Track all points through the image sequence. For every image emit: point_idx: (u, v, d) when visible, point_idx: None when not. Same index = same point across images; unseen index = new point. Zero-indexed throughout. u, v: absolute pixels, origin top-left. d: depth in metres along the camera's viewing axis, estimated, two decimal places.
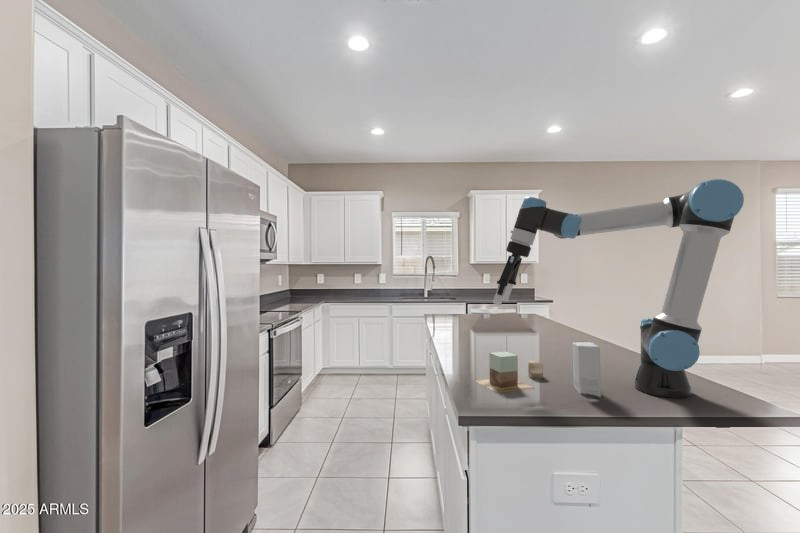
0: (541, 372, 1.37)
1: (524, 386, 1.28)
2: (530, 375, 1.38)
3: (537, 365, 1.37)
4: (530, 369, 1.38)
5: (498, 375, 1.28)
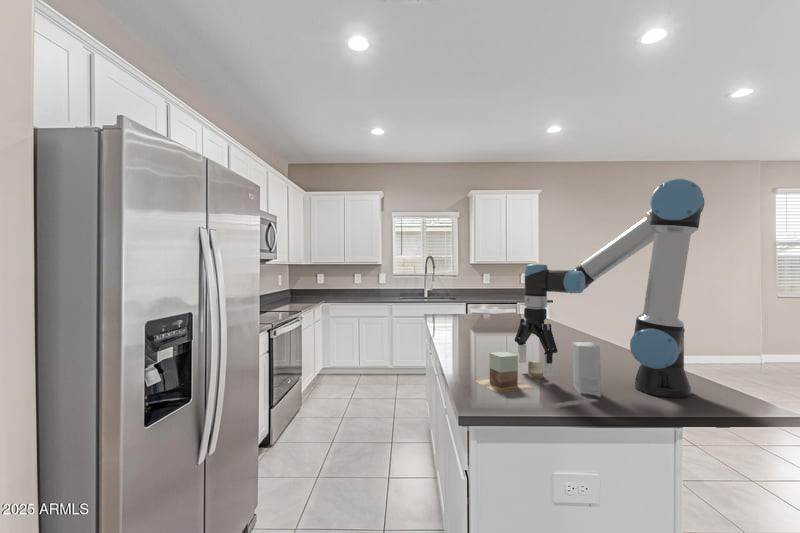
0: (541, 372, 1.37)
1: (524, 386, 1.28)
2: (530, 375, 1.38)
3: (537, 365, 1.37)
4: (530, 369, 1.38)
5: (498, 375, 1.28)
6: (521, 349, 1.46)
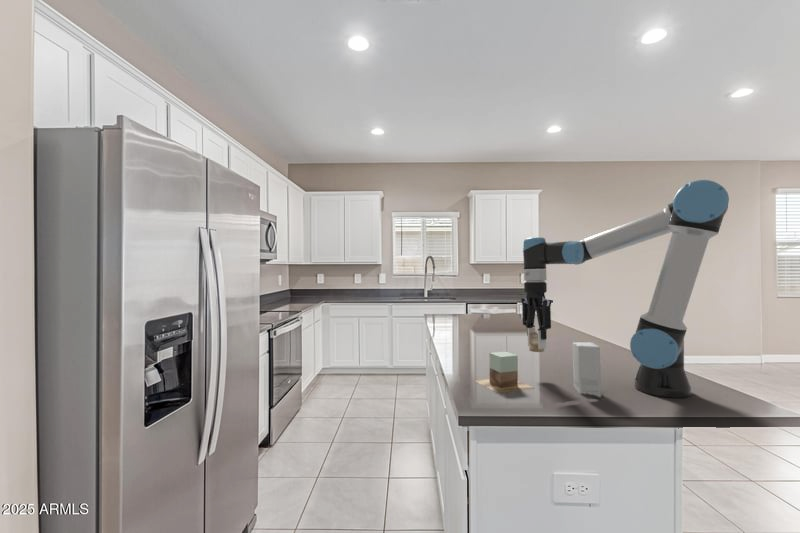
0: None
1: (524, 386, 1.28)
2: (531, 346, 1.38)
3: None
4: (531, 340, 1.38)
5: (498, 375, 1.28)
6: (530, 332, 1.41)
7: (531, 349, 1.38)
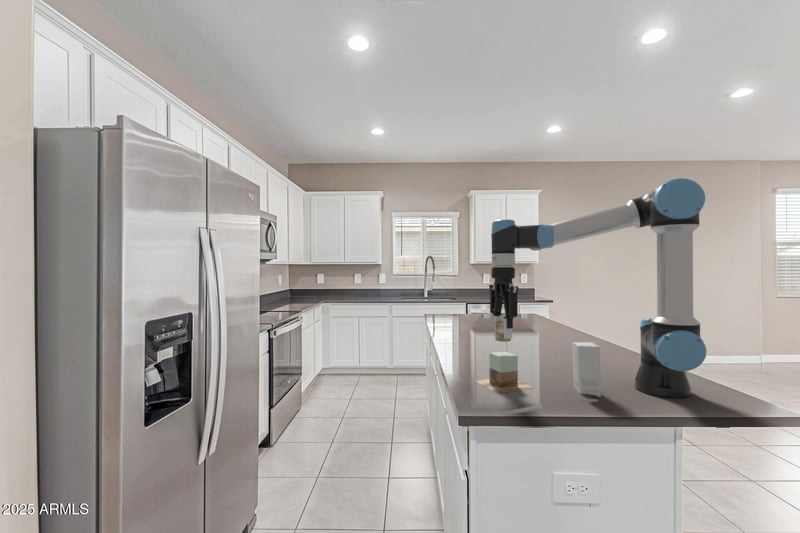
0: None
1: (524, 386, 1.28)
2: (497, 335, 1.30)
3: None
4: (497, 329, 1.30)
5: (498, 375, 1.28)
6: (497, 320, 1.33)
7: (497, 338, 1.30)
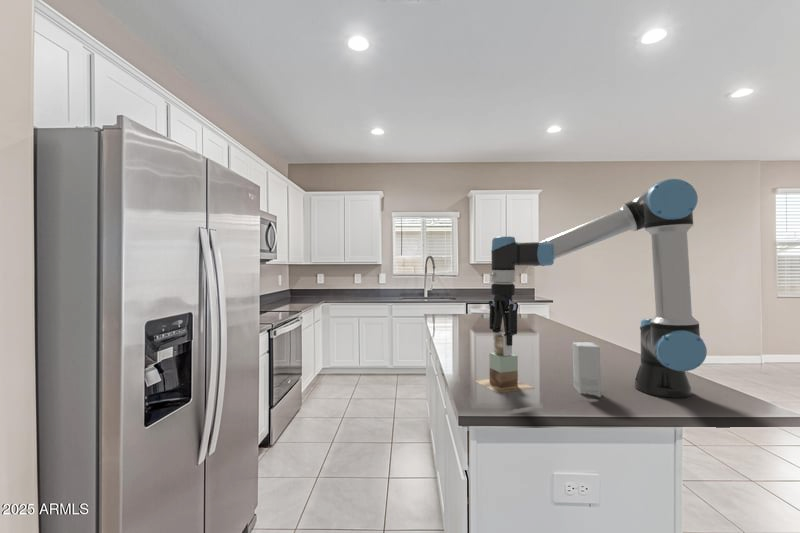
0: None
1: (524, 386, 1.28)
2: (496, 349, 1.29)
3: None
4: (496, 343, 1.29)
5: (498, 375, 1.28)
6: None
7: (496, 352, 1.29)
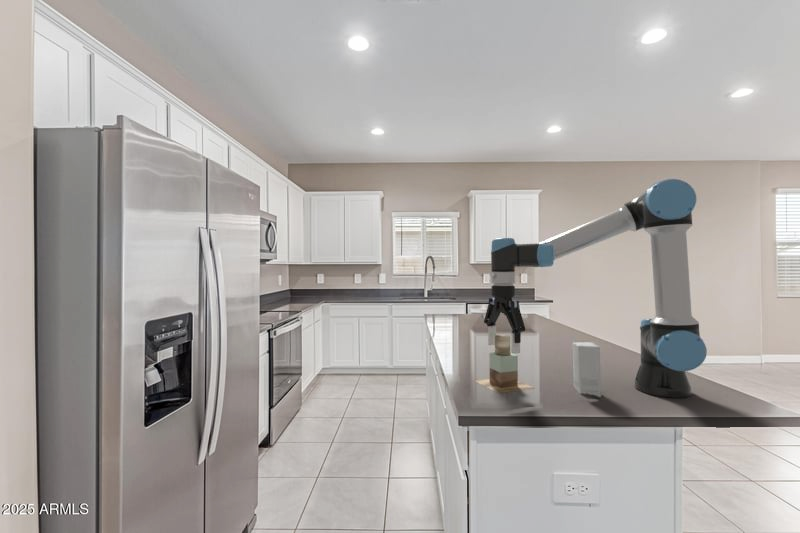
0: (508, 346, 1.28)
1: (524, 386, 1.28)
2: (496, 349, 1.29)
3: (503, 338, 1.28)
4: (496, 343, 1.29)
5: (498, 375, 1.28)
6: (490, 330, 1.36)
7: (496, 352, 1.29)
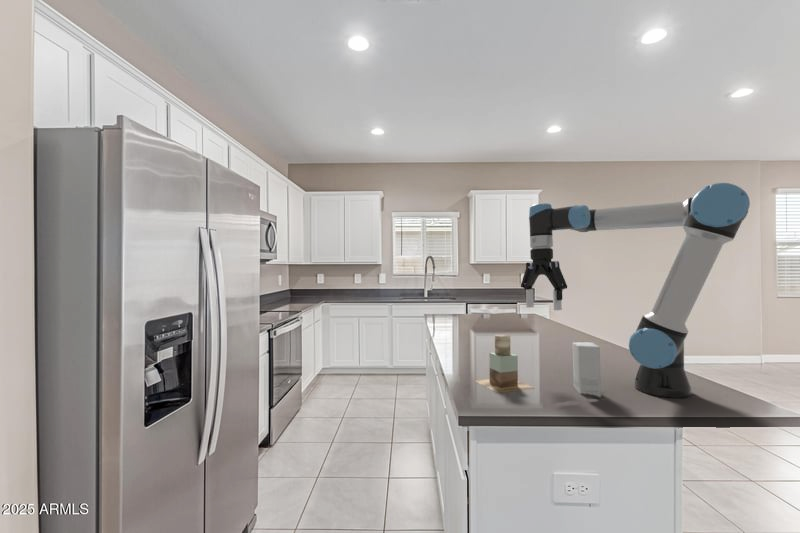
0: (508, 346, 1.28)
1: (524, 386, 1.28)
2: (496, 349, 1.29)
3: (503, 338, 1.28)
4: (496, 343, 1.29)
5: (498, 375, 1.28)
6: (528, 293, 1.44)
7: (496, 352, 1.29)
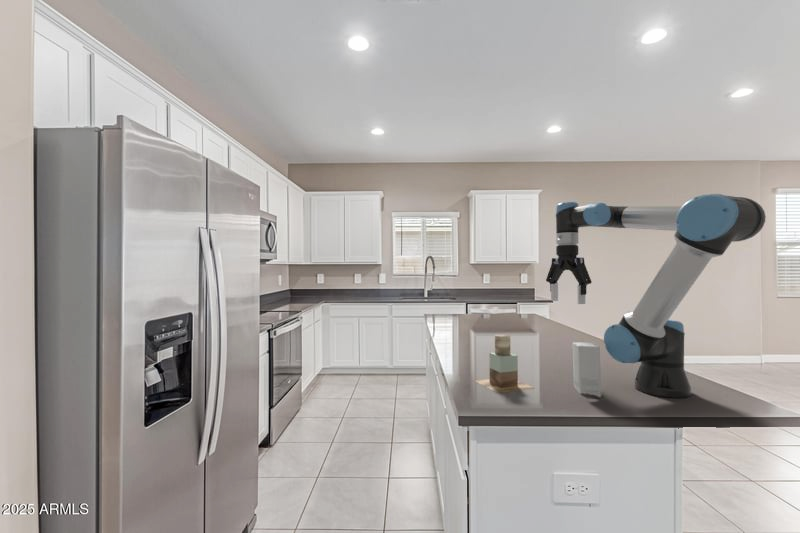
0: (508, 346, 1.28)
1: (524, 386, 1.28)
2: (496, 349, 1.29)
3: (503, 338, 1.28)
4: (496, 343, 1.29)
5: (498, 375, 1.28)
6: (553, 287, 1.51)
7: (496, 352, 1.29)
